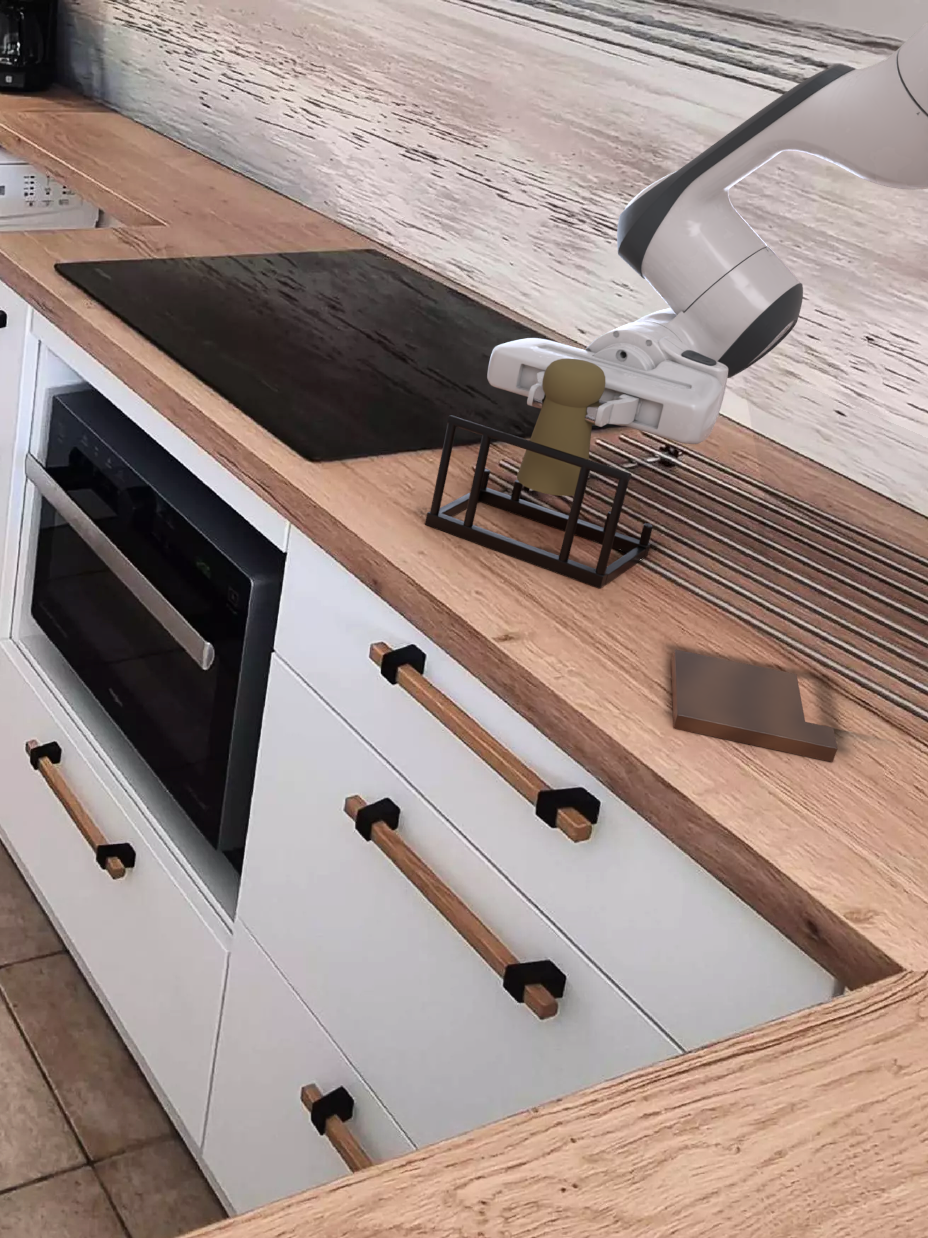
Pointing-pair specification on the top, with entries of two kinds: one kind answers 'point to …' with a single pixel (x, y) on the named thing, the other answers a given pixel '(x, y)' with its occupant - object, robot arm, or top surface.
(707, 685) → the walnut board
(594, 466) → the dish rack
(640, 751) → the top surface
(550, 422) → the cork
